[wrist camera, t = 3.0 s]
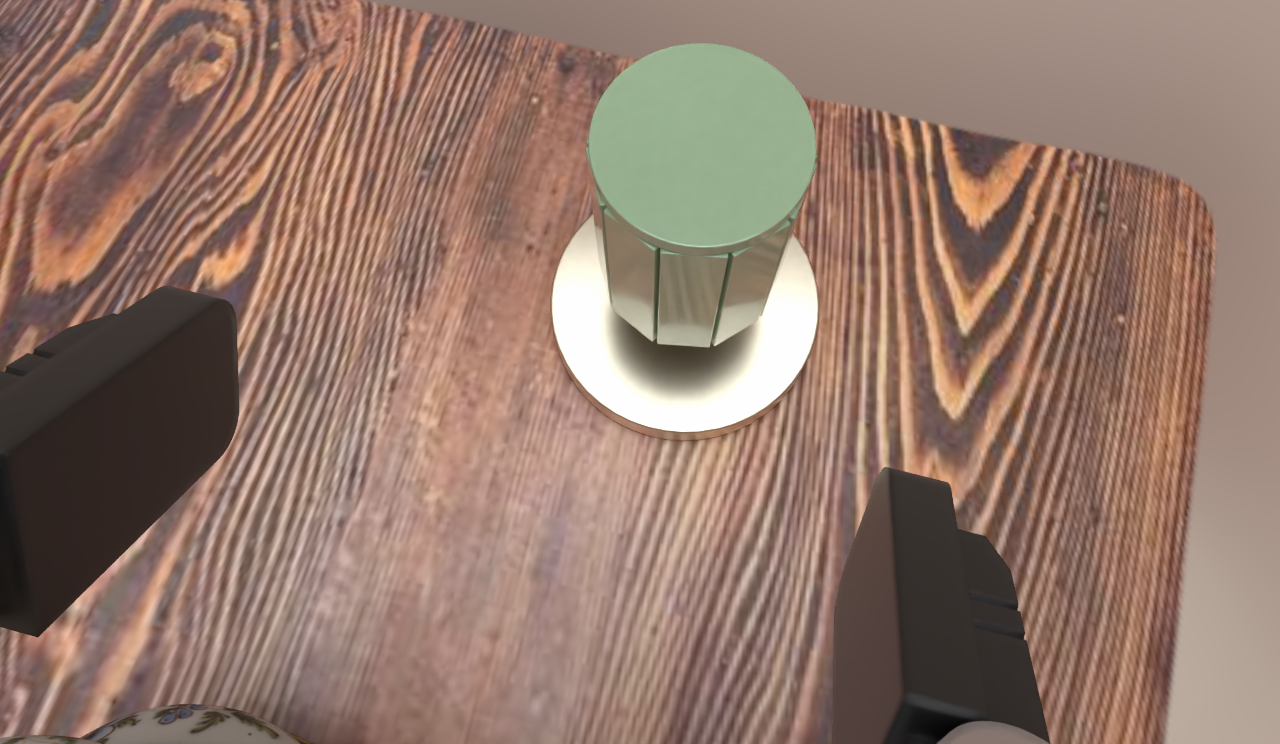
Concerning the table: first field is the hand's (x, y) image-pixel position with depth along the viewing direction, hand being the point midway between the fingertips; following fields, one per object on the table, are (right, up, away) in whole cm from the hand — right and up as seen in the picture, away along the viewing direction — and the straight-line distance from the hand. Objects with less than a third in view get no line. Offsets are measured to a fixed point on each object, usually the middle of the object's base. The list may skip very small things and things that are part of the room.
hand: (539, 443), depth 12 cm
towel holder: (+3, +3, +30) cm, 30 cm away
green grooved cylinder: (+3, +5, +24) cm, 25 cm away
